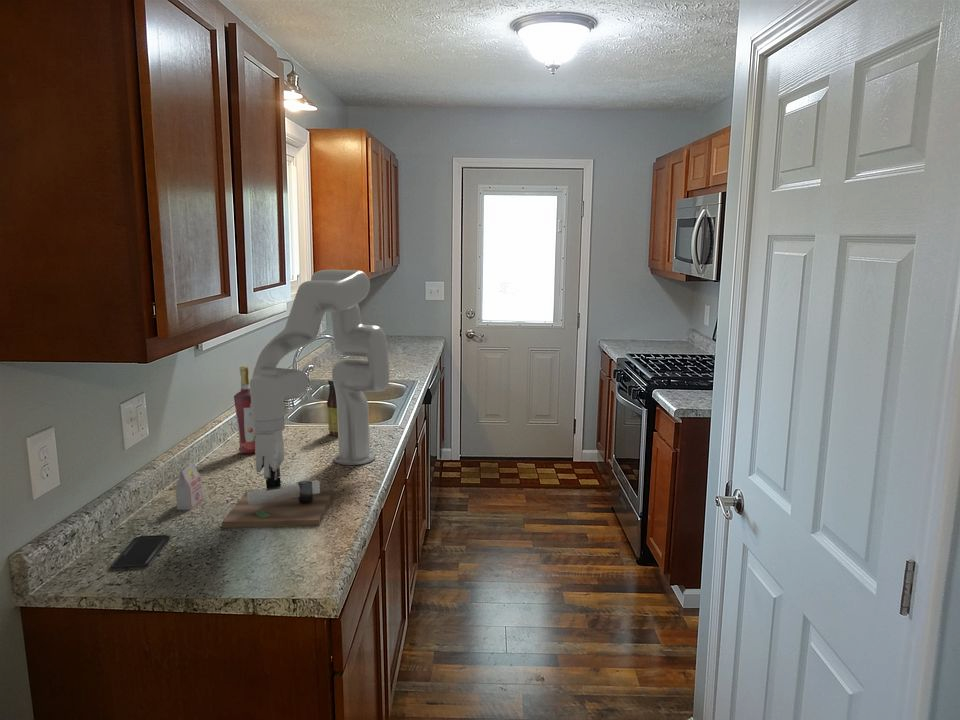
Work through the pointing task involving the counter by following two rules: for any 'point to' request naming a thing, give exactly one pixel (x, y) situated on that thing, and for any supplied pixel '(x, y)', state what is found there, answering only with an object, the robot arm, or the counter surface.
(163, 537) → the phone
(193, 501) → the pink white carton
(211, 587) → the counter surface
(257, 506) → the dial board
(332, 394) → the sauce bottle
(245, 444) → the liquor
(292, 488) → the dial pointer
